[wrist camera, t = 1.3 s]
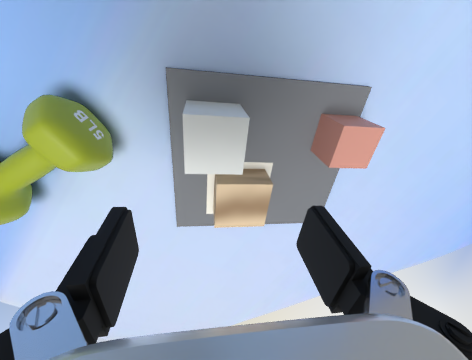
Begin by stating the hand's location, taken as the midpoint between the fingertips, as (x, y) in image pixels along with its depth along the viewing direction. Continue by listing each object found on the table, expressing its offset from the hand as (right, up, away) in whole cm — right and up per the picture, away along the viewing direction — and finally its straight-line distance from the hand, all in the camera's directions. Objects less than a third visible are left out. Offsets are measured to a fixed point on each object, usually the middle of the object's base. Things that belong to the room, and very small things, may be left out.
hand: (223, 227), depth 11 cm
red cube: (+14, +9, +17) cm, 23 cm away
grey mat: (+4, +5, +18) cm, 19 cm away
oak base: (+1, +1, +19) cm, 19 cm away
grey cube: (-2, +9, +14) cm, 17 cm away
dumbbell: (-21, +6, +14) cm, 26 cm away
